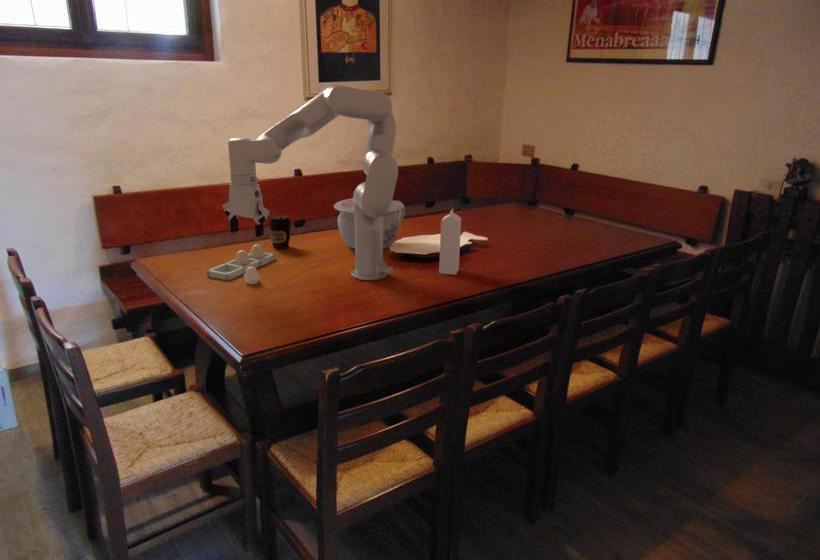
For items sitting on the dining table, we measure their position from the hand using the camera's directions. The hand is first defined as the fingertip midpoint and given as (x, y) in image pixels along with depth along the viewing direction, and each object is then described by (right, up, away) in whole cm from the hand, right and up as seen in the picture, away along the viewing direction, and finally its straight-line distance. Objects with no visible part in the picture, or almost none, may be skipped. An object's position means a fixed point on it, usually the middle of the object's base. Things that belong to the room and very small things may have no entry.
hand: (247, 234), depth 184 cm
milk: (+65, -12, +22) cm, 69 cm away
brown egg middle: (-7, -10, +19) cm, 22 cm away
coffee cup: (+1, -3, +43) cm, 43 cm away
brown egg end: (-3, -8, +26) cm, 27 cm away
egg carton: (-11, -10, +21) cm, 25 cm away
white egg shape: (0, -16, +6) cm, 17 cm away
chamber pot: (+35, -1, +49) cm, 60 cm away
